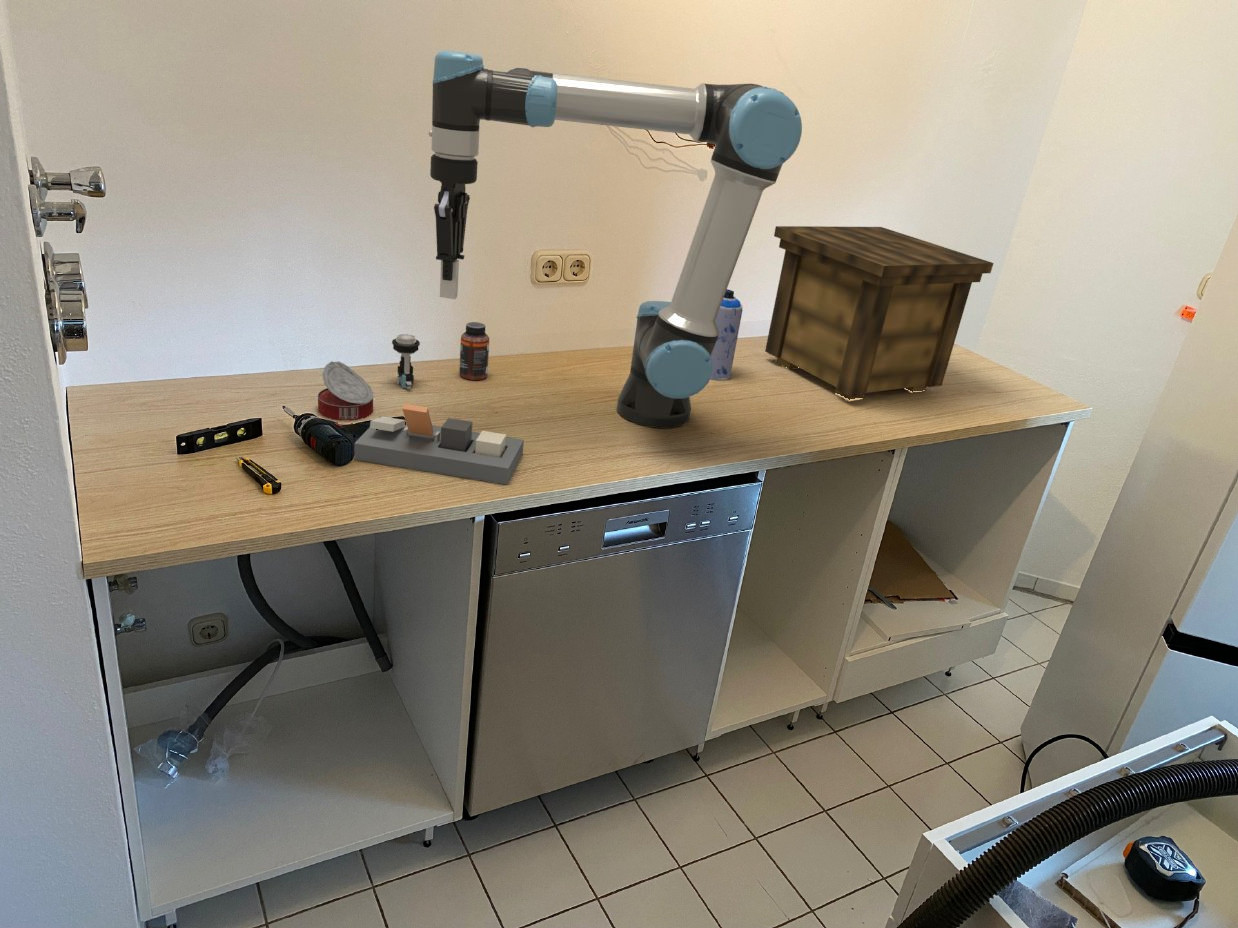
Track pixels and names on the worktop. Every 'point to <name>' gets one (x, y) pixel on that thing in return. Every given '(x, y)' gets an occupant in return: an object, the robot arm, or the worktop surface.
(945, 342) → the crate
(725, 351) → the aerosol can
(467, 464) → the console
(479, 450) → the ivory button
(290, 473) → the worktop surface
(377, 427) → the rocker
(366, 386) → the canned food
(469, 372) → the supplement bottle
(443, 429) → the dark gray button
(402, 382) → the push button
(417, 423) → the paddle lever
